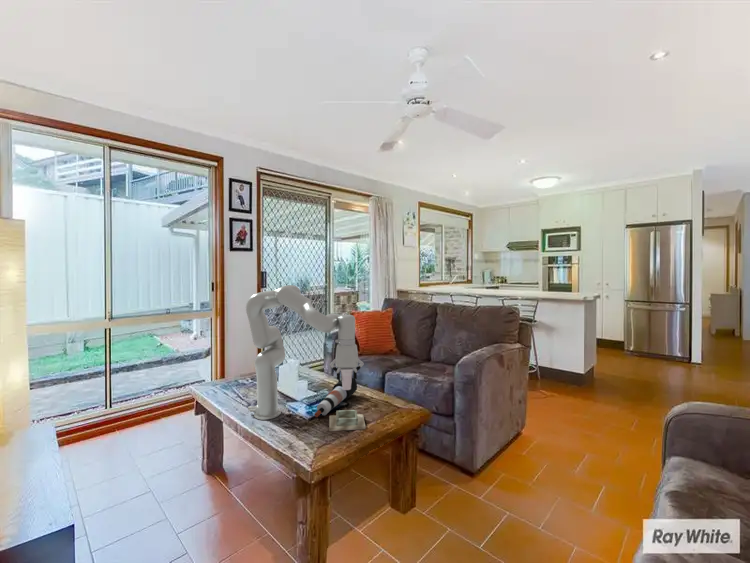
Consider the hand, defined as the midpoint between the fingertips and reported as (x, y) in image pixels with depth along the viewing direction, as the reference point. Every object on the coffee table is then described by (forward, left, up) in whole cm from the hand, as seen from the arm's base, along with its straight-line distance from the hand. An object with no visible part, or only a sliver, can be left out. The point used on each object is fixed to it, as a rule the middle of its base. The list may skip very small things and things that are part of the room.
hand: (346, 380), depth 163 cm
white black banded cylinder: (-6, +20, -21) cm, 30 cm away
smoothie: (0, 0, -4) cm, 4 cm away
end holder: (0, 0, -20) cm, 20 cm away
